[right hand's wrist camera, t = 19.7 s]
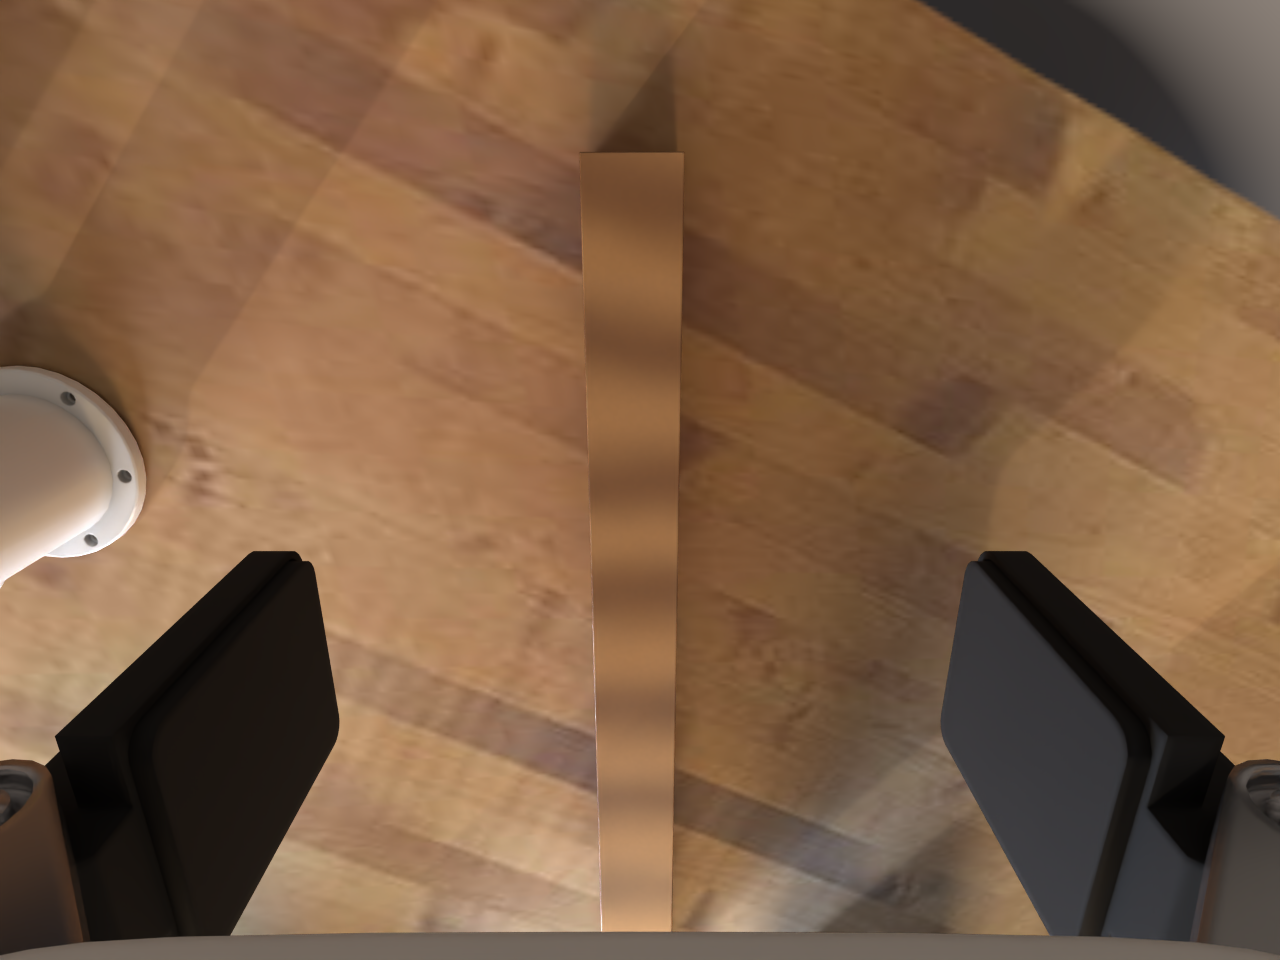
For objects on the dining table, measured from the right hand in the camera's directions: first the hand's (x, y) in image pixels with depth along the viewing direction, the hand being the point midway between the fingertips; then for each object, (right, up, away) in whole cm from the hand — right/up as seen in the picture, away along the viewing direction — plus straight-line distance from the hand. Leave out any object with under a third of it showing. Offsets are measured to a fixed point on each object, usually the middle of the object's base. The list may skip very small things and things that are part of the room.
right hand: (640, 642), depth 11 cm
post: (0, -9, +43) cm, 44 cm away
